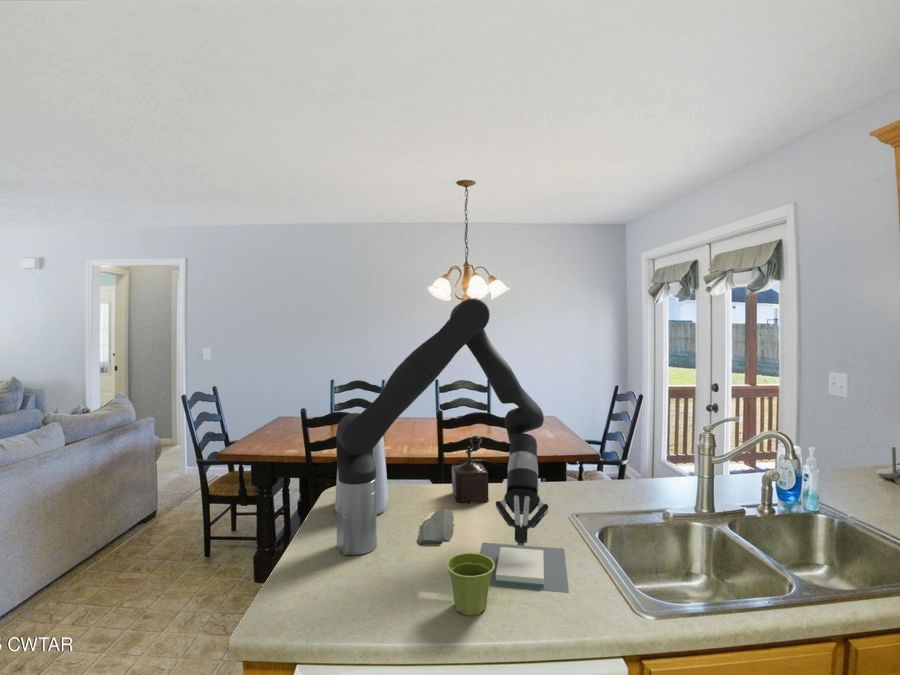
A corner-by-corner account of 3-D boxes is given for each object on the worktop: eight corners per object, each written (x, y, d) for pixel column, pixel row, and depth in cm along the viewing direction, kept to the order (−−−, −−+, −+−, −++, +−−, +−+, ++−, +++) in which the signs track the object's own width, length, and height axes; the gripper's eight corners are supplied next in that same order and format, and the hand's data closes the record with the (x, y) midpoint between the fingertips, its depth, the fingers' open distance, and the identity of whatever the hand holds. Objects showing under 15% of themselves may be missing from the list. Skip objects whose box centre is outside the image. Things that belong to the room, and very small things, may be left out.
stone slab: (417, 551, 124) (456, 546, 124) (416, 541, 124) (455, 535, 124) (421, 518, 146) (455, 513, 146) (420, 509, 146) (453, 504, 146)
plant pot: (498, 620, 92) (498, 574, 92) (448, 623, 91) (448, 577, 91) (490, 593, 101) (490, 551, 101) (445, 595, 101) (444, 553, 100)
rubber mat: (568, 596, 100) (568, 592, 100) (471, 587, 103) (471, 583, 103) (564, 551, 120) (564, 548, 119) (482, 545, 123) (482, 542, 123)
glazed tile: (543, 557, 115) (543, 587, 102) (500, 554, 117) (495, 582, 104) (543, 550, 115) (543, 578, 102) (500, 547, 117) (495, 574, 104)
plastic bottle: (389, 498, 157) (388, 411, 156) (384, 516, 142) (383, 420, 141) (342, 499, 157) (341, 412, 156) (332, 517, 142) (331, 421, 141)
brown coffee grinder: (491, 502, 153) (491, 445, 153) (456, 504, 152) (456, 446, 151) (480, 486, 169) (480, 434, 168) (449, 488, 167) (448, 435, 167)
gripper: (495, 465, 121) (490, 535, 109) (549, 467, 119) (551, 540, 107) (497, 480, 126) (492, 548, 114) (549, 482, 124) (550, 552, 112)
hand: (520, 544), depth 111 cm, fingers closed
